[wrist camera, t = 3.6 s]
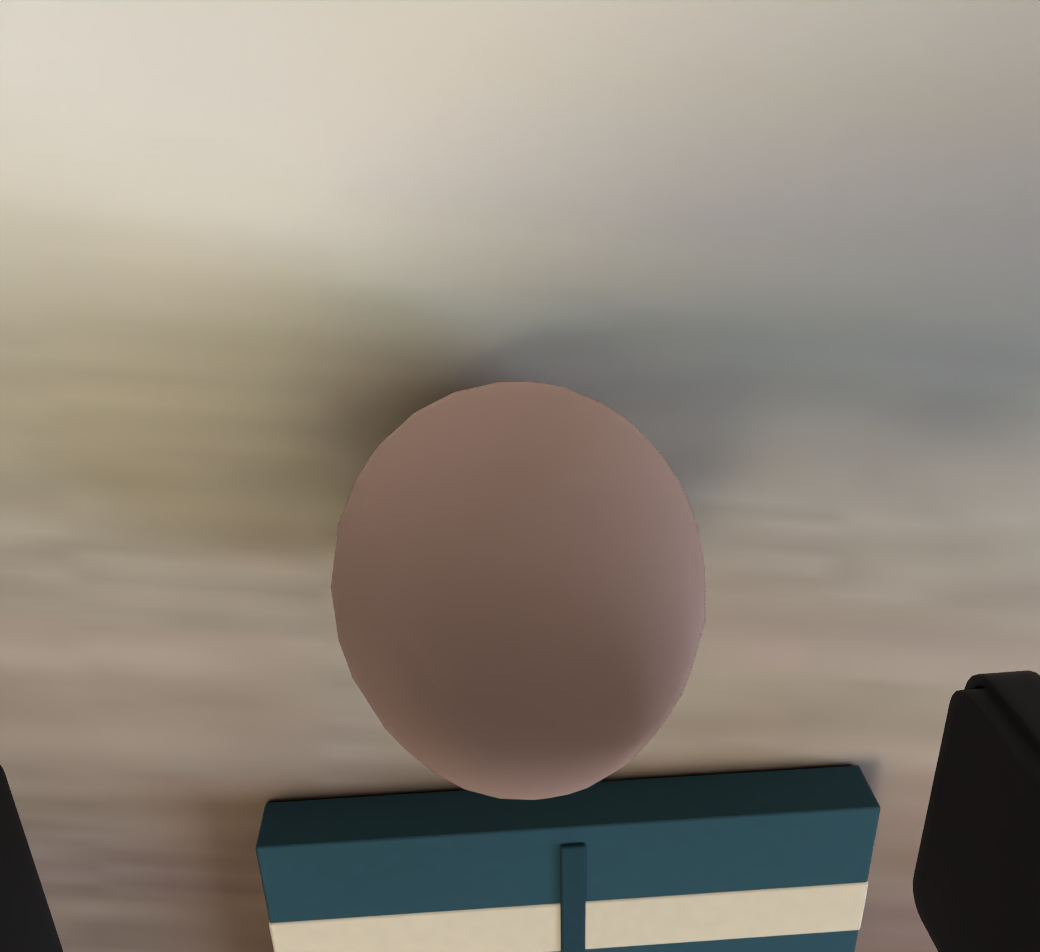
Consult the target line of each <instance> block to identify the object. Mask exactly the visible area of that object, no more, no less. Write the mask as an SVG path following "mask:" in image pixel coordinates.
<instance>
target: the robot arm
mask: <svg viewBox="0 0 1040 952" xmlns="http://www.w3.org/2000/svg"><path fill="white" fill-rule="evenodd" d="M913 894H914V899H915V904H916V907H917V910H918V913H919V915H920V918H921V920H922V922H923V924H924V926H925V927H926V929H927V931H928V933H929V935H930V937H931V939H932V941H933V942H934V944H935V946H936V948H937V950H938V952H1040V675H1038V674H1037V673H1035V672H1032V671H1016V672H1002V673H988V674H977V675H974V676H972V677H971V678H970V679H969V680H968V681H967V684H966V687H965V689H964V690H959V691H956V692H955V693H954V694H953V695H952V698H951V700H950V704H949V709H948V714H947V719H946V723H945V728H944V733H943V738H942V743H941V747H940V752H939V757H938V762H937V767H936V771H935V776H934V781H933V786H932V791H931V796H930V800H929V805H928V810H927V815H926V820H925V824H924V829H923V834H922V839H921V844H920V848H919V853H918V858H917V863H916V868H915V873H914V878H913ZM0 952H63V950H62V946H61V943H60V940H59V937H58V934H57V931H56V928H55V925H54V922H53V919H52V916H51V913H50V910H49V907H48V904H47V901H46V898H45V894H44V891H43V888H42V885H41V882H40V879H39V876H38V873H37V870H36V867H35V864H34V861H33V858H32V855H31V852H30V849H29V846H28V842H27V839H26V836H25V833H24V830H23V827H22V824H21V821H20V818H19V815H18V812H17V809H16V806H15V803H14V800H13V797H12V794H11V790H10V787H9V784H8V781H7V778H6V775H5V772H4V770H3V768H2V766H1V765H0Z"/></svg>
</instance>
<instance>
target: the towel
mask: <svg viewBox="0 0 1040 952" xmlns="http://www.w3.org/2000/svg"><path fill="white" fill-rule="evenodd" d="M879 813H880V806H879V804H878V802H877V800H876V798H875V796H874V794H873V792H872V790H871V788H870V787H869V785H868V783H867V781H866V779H865V777H864V775H863V773H862V771H861V769H860V767H859V766H841V767H826V768H810V769H794V770H778V771H762V772H746V773H730V774H715V775H699V776H683V777H667V778H651V779H635V780H620V781H604V782H597V783H595V784H593V785H592V786H590V787H588V788H586V789H583V790H580V791H577V792H574V793H571V794H568V795H563V796H557V797H552V798H545V799H537V800H523V799H499V798H496V797H492V796H488V795H484V794H480V793H476V792H472V791H469V790H461V791H445V792H430V793H414V794H398V795H382V796H366V797H350V798H335V799H319V800H303V801H287V802H271V803H266V805H265V809H264V813H263V818H262V822H261V827H260V831H259V836H258V840H257V845H256V853H257V858H258V863H259V868H260V873H261V879H262V884H263V889H264V894H265V899H266V905H267V910H268V915H269V928H270V933H271V938H272V943H273V949H274V952H854V950H855V945H856V939H857V934H858V930H859V929H860V927H861V921H862V916H863V910H864V905H865V899H866V894H867V888H868V881H867V879H868V873H869V868H870V862H871V857H872V851H873V846H874V840H875V835H876V829H877V824H878V818H879Z"/></svg>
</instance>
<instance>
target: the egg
mask: <svg viewBox="0 0 1040 952" xmlns="http://www.w3.org/2000/svg"><path fill="white" fill-rule="evenodd" d="M331 590H332V597H333V604H334V611H335V617H336V624H337V631H338V638H339V642H340V645H341V647H342V650H343V653H344V655H345V658H346V661H347V664H348V666H349V669H350V672H351V674H352V677H353V679H354V681H355V682H356V684H357V685H358V687H359V688H360V690H361V692H362V693H363V695H364V696H365V698H366V699H367V701H368V703H369V704H370V706H371V707H372V709H373V710H374V712H375V713H376V715H377V717H378V718H379V720H380V721H381V723H382V724H383V726H384V728H385V729H386V730H387V731H388V732H389V733H390V734H391V735H392V736H393V737H394V738H395V739H396V740H397V741H398V742H399V743H400V744H401V745H402V746H403V747H404V749H406V750H407V751H408V752H409V753H411V754H412V755H413V756H414V757H415V758H417V759H418V760H419V761H420V762H422V763H423V764H424V765H425V766H426V767H428V768H429V769H430V770H431V771H433V772H434V773H436V774H438V775H440V776H442V777H443V778H445V779H447V780H449V781H451V782H452V783H454V784H456V785H458V786H459V787H461V788H463V789H465V790H469V791H472V792H476V793H480V794H484V795H488V796H492V797H496V798H499V799H523V800H537V799H545V798H552V797H557V796H563V795H568V794H571V793H574V792H577V791H580V790H583V789H586V788H588V787H590V786H592V785H593V784H595V783H597V782H598V781H600V780H602V779H604V778H605V777H607V776H609V775H610V774H612V773H614V772H616V771H617V770H619V769H621V768H622V767H624V766H626V765H628V764H629V763H630V762H631V761H632V759H633V758H634V757H635V756H636V755H637V754H638V753H639V752H640V751H641V749H642V748H643V747H644V746H645V745H646V744H647V743H648V742H649V741H650V739H651V738H652V737H653V736H654V735H655V734H656V732H657V731H658V729H659V728H660V727H661V725H662V724H663V723H664V721H665V720H666V719H667V717H668V716H669V714H670V713H671V711H672V709H673V708H674V706H675V705H676V703H677V701H678V700H679V698H680V697H681V695H682V692H683V690H684V687H685V684H686V682H687V679H688V677H689V674H690V671H691V668H692V665H693V662H694V658H695V655H696V651H697V648H698V644H699V641H700V638H701V634H702V631H703V627H704V624H705V620H706V618H705V565H704V559H703V554H702V548H701V543H700V537H699V532H698V527H697V524H696V522H695V519H694V516H693V514H692V511H691V509H690V506H689V503H688V501H687V498H686V496H685V493H684V490H683V488H682V485H681V484H680V482H679V480H678V479H677V477H676V476H675V474H674V473H673V471H672V470H671V468H670V467H669V465H668V464H667V462H666V461H665V459H664V458H663V456H662V455H661V453H660V452H659V451H658V450H657V449H656V448H655V447H654V446H653V445H652V444H651V443H650V441H649V440H648V439H647V438H646V437H645V436H644V435H643V434H642V433H641V432H640V431H639V430H638V429H637V428H636V427H635V426H634V424H633V423H632V422H631V421H629V420H627V419H626V418H624V417H623V416H621V415H620V414H618V413H617V412H615V411H614V410H612V409H611V408H609V407H608V406H606V405H605V404H603V403H600V402H598V401H595V400H593V399H591V398H588V397H586V396H584V395H581V394H579V393H576V392H574V391H572V390H569V389H567V388H564V387H559V386H554V385H549V384H544V383H539V382H496V383H492V384H488V385H483V386H479V387H475V388H470V389H466V390H462V391H457V392H453V393H452V394H450V395H448V396H446V397H444V398H442V399H440V400H438V401H436V402H434V403H432V404H430V405H428V406H426V407H424V408H422V409H420V410H419V411H417V412H415V413H414V414H412V415H411V416H410V417H409V418H408V419H407V420H406V421H405V422H404V423H403V424H401V425H400V426H399V427H398V428H397V429H396V430H395V431H394V432H393V433H391V434H390V435H389V436H388V437H387V438H386V439H385V440H384V441H383V442H382V443H381V444H380V445H379V446H378V447H377V448H376V449H375V451H374V452H373V454H372V455H371V457H370V459H369V460H368V462H367V463H366V465H365V466H364V468H363V469H362V471H361V473H360V474H359V476H358V477H357V479H356V481H355V484H354V486H353V489H352V491H351V494H350V496H349V499H348V501H347V504H346V506H345V509H344V511H343V513H342V516H341V518H340V521H339V523H338V531H337V540H336V549H335V558H334V567H333V576H332V585H331Z"/></svg>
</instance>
